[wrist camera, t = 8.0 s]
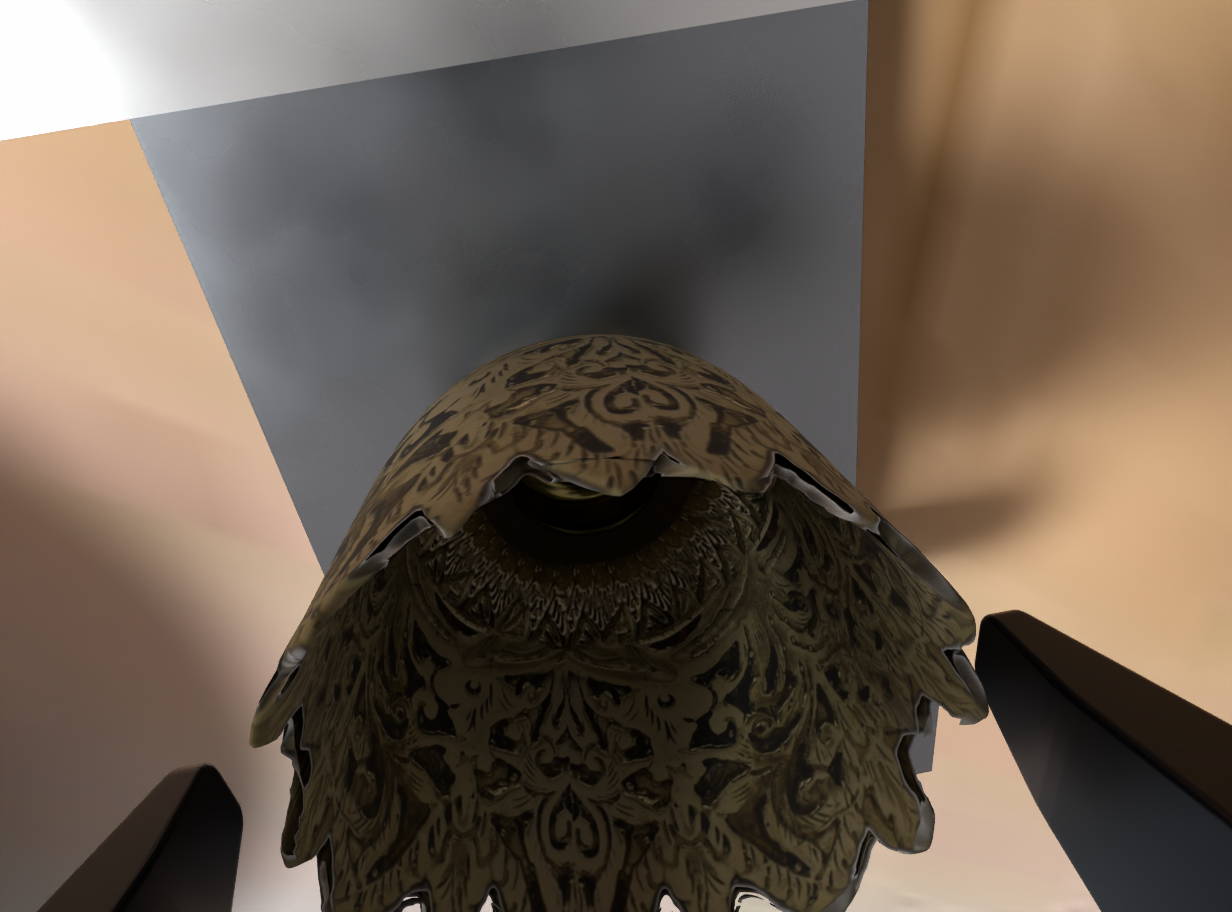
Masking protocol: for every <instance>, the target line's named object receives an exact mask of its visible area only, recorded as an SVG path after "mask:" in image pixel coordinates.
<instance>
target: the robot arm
mask: <svg viewBox="0 0 1232 912" xmlns="http://www.w3.org/2000/svg"><path fill="white" fill-rule="evenodd" d="M975 672H976V674H977V675H978V677H979V679H980V681H981V683H982V686H983V688H984V691H985V694H986V697H987V700H988V705H989V707H990V709H991V711H992V713H993V715H994V717H995V719H996V721H997V724H998V726H999V728H1000V730H1001V732H1002V734H1003V736H1004V738H1005V740H1006V742H1007V744H1008V747H1009V749H1010V751H1011V753H1012V755H1013V757H1014V759H1015V761H1016V763H1017V765H1018V768H1019V770H1020V772H1021V774H1022V776H1023V778H1024V780H1025V782H1026V784H1027V786H1028V788H1029V790H1030V792H1031V794H1032V796H1033V798H1034V800H1035V802H1036V804H1037V806H1038V808H1039V809H1040V811H1041V813H1042V815H1043V816H1044V818H1045V820H1046V822H1047V823H1048V825H1049V827H1050V828H1051V830H1052V832H1053V833H1054V835H1055V836H1056V838H1057V840H1058V841H1059V843H1060V845H1061V846H1062V848H1063V850H1064V851H1065V853H1066V854H1067V856H1068V858H1069V859H1070V861H1071V863H1072V864H1073V866H1074V868H1075V869H1076V871H1077V873H1078V874H1079V876H1080V877H1081V879H1082V881H1083V882H1084V884H1085V886H1086V887H1087V889H1088V891H1089V892H1090V894H1091V895H1092V897H1093V899H1094V900H1095V902H1096V904H1097V905H1098V907H1099V909H1100V910H1101V912H1232V725H1231V724H1229V723H1227V722H1225V721H1223V720H1222V719H1220V718H1218V717H1216V716H1214V715H1212V714H1211V713H1209V712H1207V711H1205V710H1203V709H1201V708H1200V707H1198V706H1196V705H1194V704H1192V703H1190V702H1189V701H1187V700H1185V699H1183V698H1181V697H1179V696H1178V695H1176V694H1174V693H1172V692H1170V691H1168V690H1167V689H1165V688H1163V687H1161V686H1159V685H1157V684H1156V683H1154V682H1152V681H1150V680H1148V679H1146V678H1145V677H1143V676H1141V675H1139V674H1137V673H1135V672H1134V671H1132V670H1130V669H1128V668H1126V667H1124V666H1123V665H1121V664H1119V663H1117V662H1115V661H1114V660H1112V659H1110V658H1108V657H1106V656H1104V655H1103V654H1101V653H1099V652H1097V651H1095V650H1093V649H1092V648H1090V647H1088V646H1086V645H1084V644H1082V643H1081V642H1079V641H1077V640H1075V639H1073V638H1071V637H1070V636H1068V635H1066V634H1064V633H1062V632H1060V631H1059V630H1057V629H1055V628H1053V627H1051V626H1049V625H1048V624H1046V623H1044V622H1042V621H1040V620H1038V619H1037V618H1035V617H1033V616H1031V615H1029V614H1027V613H1025V612H1023V611H1020V610H1010V611H1004V612H999V613H994V614H989V615H986V616H985V617H984V618H983V619H982V621H981V624H980V630H979V637H978V644H977V651H976V659H975ZM242 830H243V816H242V811H241V807H240V805H239V803H238V801H237V800H236V798H235V797H234V795H233V793H232V792H231V790H230V788H229V787H228V785H227V784H226V782H225V780H224V779H223V777H222V775H221V774H220V772H219V771H218V769H217V768H216V767H215V766H213V765H212V764H210V763H204V764H198V765H193V766H188V767H183V768H178V769H176V770H173V771H172V772H170V773H169V774H168V775H167V776H166V777H165V778H164V779H163V780H162V781H161V782H160V783H159V784H158V785H157V786H156V787H155V788H154V789H153V790H152V791H151V792H150V793H149V794H148V795H147V797H146V798H145V799H144V800H143V801H142V802H141V803H140V804H139V805H138V806H137V807H136V808H135V809H134V810H133V811H132V812H131V813H130V814H129V815H128V816H127V818H126V819H125V820H124V821H123V822H122V823H121V824H120V825H119V826H118V827H117V828H116V829H115V830H114V831H113V832H112V833H111V834H110V835H109V836H108V838H107V839H106V840H105V841H104V842H103V843H102V844H101V845H100V846H99V847H98V848H97V849H96V850H95V851H94V852H93V853H92V854H91V855H90V856H89V857H88V859H87V860H86V861H85V862H84V863H83V864H82V865H81V866H80V867H79V868H78V869H77V870H76V871H75V872H74V873H73V874H72V875H71V876H70V877H69V878H68V880H67V881H66V882H65V883H64V884H63V885H62V886H61V887H60V888H59V889H58V890H57V891H56V892H55V893H54V894H53V895H52V896H51V897H50V898H49V900H48V901H47V902H46V903H45V904H44V905H43V906H42V907H41V908H40V909H39V910H38V911H37V912H231V911H232V904H233V897H234V889H235V882H236V874H237V867H238V860H239V852H240V845H241V837H242Z"/></svg>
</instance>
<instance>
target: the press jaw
mask: <svg viewBox="0 0 1232 912" xmlns="http://www.w3.org/2000/svg"><path fill="white" fill-rule="evenodd" d="M847 1H853V0H0V140H4V139H10V138H16V137H22V136H28V135H34V134H41V133H47V132H53V131H59V130H65V129H71V128H77V127H83V126H89V125H96V124H102V123H108V122H114V121H120V120H126V119H132V118H138V117H144V116H151V115H157V114H163V113H169V112H175V111H181V110H187V109H193V108H199V107H206V106H212V105H218V104H224V103H230V102H236V101H242V100H248V99H254V98H260V97H267V96H273V95H279V94H285V93H291V92H297V91H303V90H309V89H315V88H322V87H328V86H334V85H340V84H346V83H352V82H358V81H364V80H370V79H377V78H383V77H389V76H395V75H401V74H407V73H413V72H419V71H425V70H432V69H438V68H444V67H450V66H456V65H462V64H468V63H474V62H480V61H487V60H493V59H499V58H505V57H511V56H517V55H523V54H529V53H535V52H542V51H548V50H554V49H560V48H566V47H572V46H578V45H584V44H590V43H597V42H603V41H609V40H615V39H621V38H627V37H633V36H639V35H645V34H652V33H658V32H664V31H670V30H676V29H682V28H688V27H694V26H700V25H707V24H713V23H719V22H725V21H731V20H737V19H743V18H749V17H755V16H762V15H768V14H774V13H780V12H786V11H792V10H798V9H804V8H810V7H817V6H823V5H829V4H835V3H841V2H847Z"/></svg>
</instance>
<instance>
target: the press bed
mask: <svg viewBox="0 0 1232 912" xmlns="http://www.w3.org/2000/svg"><path fill="white" fill-rule="evenodd" d="M867 35H868V0H853V1H847V2H841V3H835V4H829V5H823V6H817V7H810V8H804V9H798V10H792V11H786V12H780V13H774V14H768V15H762V16H755V17H749V18H743V19H737V20H731V21H725V22H719V23H713V24H707V25H700V26H694V27H688V28H682V29H676V30H670V31H664V32H658V33H652V34H645V35H639V36H633V37H627V38H621V39H615V40H609V41H603V42H597V43H590V44H584V45H578V46H572V47H566V48H560V49H554V50H548V51H542V52H535V53H529V54H523V55H517V56H511V57H505V58H499V59H493V60H487V61H480V62H474V63H468V64H462V65H456V66H450V67H444V68H438V69H432V70H425V71H419V72H413V73H407V74H401V75H395V76H389V77H383V78H377V79H370V80H364V81H358V82H352V83H346V84H340V85H334V86H328V87H322V88H315V89H309V90H303V91H297V92H291V93H285V94H279V95H273V96H267V97H260V98H254V99H248V100H242V101H236V102H230V103H224V104H218V105H212V106H206V107H199V108H193V109H187V110H181V111H175V112H169V113H163V114H157V115H151V116H144V117H138V118H132V119H130V122H131V124H132V126H133V129H134V131H135V133H136V136H137V138H138V140H139V143H140V145H141V147H142V150H143V152H144V154H145V157H146V159H147V161H148V164H149V166H150V168H151V171H152V173H153V175H154V178H155V180H156V182H157V185H158V187H159V190H160V192H161V194H162V197H163V199H164V201H165V204H166V206H167V208H168V211H169V213H170V215H171V218H172V220H173V222H174V225H175V227H176V229H177V232H178V234H179V236H180V239H181V241H182V243H183V246H184V248H185V250H186V253H187V255H188V257H189V260H190V262H191V264H192V267H193V269H194V271H195V274H196V276H197V278H198V281H199V283H200V285H201V288H202V290H203V293H204V295H205V297H206V300H207V302H208V304H209V307H210V309H211V311H212V314H213V316H214V318H215V321H216V323H217V325H218V328H219V330H220V332H221V335H222V337H223V339H224V342H225V344H226V346H227V349H228V351H229V353H230V356H231V358H232V360H233V363H234V365H235V367H236V370H237V372H238V374H239V377H240V379H241V381H242V384H243V386H244V388H245V391H246V393H247V395H248V398H249V400H250V403H251V405H252V407H253V410H254V412H255V414H256V417H257V419H258V421H259V424H260V426H261V428H262V431H263V433H264V435H265V438H266V440H267V442H268V445H269V447H270V449H271V452H272V454H273V456H274V459H275V461H276V463H277V466H278V468H279V470H280V473H281V475H282V477H283V480H284V482H285V484H286V487H287V489H288V491H289V494H290V496H291V498H292V501H293V503H294V506H295V508H296V510H297V513H298V515H299V517H300V520H301V522H302V524H303V527H304V529H305V531H306V534H307V536H308V538H309V541H310V543H311V545H312V548H313V550H314V552H315V555H316V557H317V559H318V562H319V564H320V566H321V569H322V571H323V573H324V576H325V575H326V573H327V571H328V569H329V567H330V565H331V563H332V561H333V559H334V557H335V555H336V553H337V551H338V549H339V547H340V545H341V543H342V542H343V540H344V538H345V536H346V534H347V532H348V530H349V528H350V526H351V524H352V522H353V520H354V519H355V517H356V515H357V513H358V511H359V509H360V507H361V505H362V503H363V502H364V500H365V498H366V496H367V494H368V492H369V491H370V489H371V487H372V485H373V483H374V482H375V480H376V478H377V477H378V475H379V473H380V472H381V470H382V468H383V467H384V465H385V463H386V462H387V460H388V459H389V457H390V456H391V454H392V453H393V451H394V450H395V449H396V447H397V446H398V444H399V443H400V441H401V440H402V439H403V437H404V436H405V434H406V433H407V432H408V430H409V429H410V428H411V426H412V425H413V424H414V423H415V422H416V421H417V420H418V418H419V417H420V416H421V415H422V414H423V413H424V412H425V411H426V409H427V408H428V407H429V406H430V405H432V404H433V403H434V402H435V401H436V400H437V399H438V398H439V397H440V396H441V395H442V394H444V393H445V392H446V391H447V390H448V389H449V388H450V387H451V386H453V385H454V384H455V383H456V382H458V381H459V380H460V379H462V378H463V377H465V376H466V375H468V374H469V373H470V372H472V371H473V370H475V369H476V368H478V367H480V366H482V365H484V364H486V363H487V362H489V361H491V360H493V359H495V358H497V357H499V356H501V355H504V354H506V353H509V352H511V351H513V350H516V349H518V348H521V347H524V346H528V345H531V344H535V343H538V342H541V341H545V340H551V339H556V338H562V337H567V336H578V335H591V334H603V335H623V336H630V337H637V338H644V339H648V340H652V341H656V342H660V343H664V344H668V345H670V346H673V347H676V348H678V349H681V350H684V351H686V352H689V353H691V354H693V355H695V356H697V357H699V358H701V359H703V360H705V361H707V362H709V363H711V364H713V365H715V366H717V367H719V368H721V369H723V370H724V371H726V372H727V373H729V374H730V375H731V376H733V377H734V378H736V379H737V380H739V381H740V382H742V383H743V384H744V385H746V386H747V387H748V388H750V389H751V390H753V391H754V392H755V393H757V394H758V395H759V396H760V397H761V398H763V399H764V400H765V401H766V402H767V403H768V404H769V405H770V406H772V407H773V408H774V409H775V410H776V411H777V412H778V413H779V414H780V415H782V416H783V417H784V418H785V419H786V420H787V421H788V422H789V423H791V424H792V425H793V426H794V427H795V428H796V429H797V430H798V431H799V432H800V433H801V434H802V435H803V436H804V437H805V438H806V439H807V440H808V441H809V442H810V443H811V444H812V445H813V446H814V447H815V448H816V449H817V450H818V451H819V452H820V453H821V454H823V455H824V456H825V457H826V458H827V459H828V460H829V461H830V462H831V463H832V464H833V465H834V466H835V467H836V468H837V469H838V470H839V471H840V472H841V473H842V474H843V475H844V477H845V478H846V479H847V480H848V481H849V482H850V483H851V484H852V485H853V486H854V487H855V488H856V464H857V425H858V386H859V347H860V308H861V269H862V230H863V191H864V152H865V113H866V74H867ZM938 709H939V705H938V704H936V703H935V702H933V703H932V704H931V717H932V722H933V727H934V733H933V734H932V735H930V736H928V737H925V738H924V734H918V735H916V737H915V740H914V742H913V744H912V747H911V749H910V757H912V763H913V765H914V768H915V772H916V774H919V773H924V772H929V771H932V763H933V754H934V745H935V736H936V727H937V718H938Z"/></svg>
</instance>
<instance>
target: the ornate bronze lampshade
mask: <svg viewBox="0 0 1232 912" xmlns="http://www.w3.org/2000/svg"><path fill="white" fill-rule="evenodd" d="M975 636H976V623H975V619H974V616H973V614H972V612H971V610H970V609H969V607H968V605H967V604H966V602H965V601H964V600H963V599H962V597H961V596H960V595H959V594H958V592H957V591H956V590H955V589H954V588H953V587H952V585H951V584H950V583H949V582H948V581H947V580H946V579H945V578H944V577H943V576H942V574H941V573H940V572H939V571H938V570H937V569H936V568H935V567H934V566H933V565H932V564H931V563H930V562H929V560H928V559H927V558H926V557H925V556H924V555H923V554H922V553H921V552H920V551H919V550H918V549H917V548H916V547H915V546H914V545H913V544H912V543H911V542H910V541H909V540H907V539H906V538H905V537H904V536H903V535H902V534H901V533H900V532H899V531H897V530H896V529H895V528H894V527H893V526H892V525H891V524H890V523H889V522H888V521H887V519H886V518H885V517H884V516H883V515H882V514H881V513H880V512H879V511H878V510H877V509H876V508H875V507H874V506H873V505H872V504H871V503H870V502H869V501H868V500H867V499H866V498H865V497H864V496H863V495H862V494H861V493H860V492H859V491H858V490H857V489H856V488H855V487H854V486H853V485H852V484H851V483H850V482H849V481H848V480H847V479H846V478H845V477H844V475H843V474H842V473H841V472H840V471H839V470H838V469H837V468H836V467H835V466H834V465H833V464H832V463H831V462H830V461H829V460H828V459H827V458H826V457H825V456H824V455H823V454H821V453H820V452H819V451H818V450H817V449H816V448H815V447H814V446H813V445H812V444H811V443H810V442H809V441H808V440H807V439H806V438H805V437H804V436H803V435H802V434H801V433H800V432H799V431H798V430H797V429H796V428H795V427H794V426H793V425H792V424H791V423H789V422H788V421H787V420H786V419H785V418H784V417H783V416H782V415H780V414H779V413H778V412H777V411H776V410H775V409H774V408H773V407H772V406H770V405H769V404H768V403H767V402H766V401H765V400H764V399H763V398H761V397H760V396H759V395H758V394H757V393H755V392H754V391H753V390H751V389H750V388H748V387H747V386H746V385H744V384H743V383H742V382H740V381H739V380H737V379H736V378H734V377H733V376H731V375H730V374H729V373H727V372H726V371H724V370H723V369H721V368H719V367H717V366H715V365H713V364H711V363H709V362H707V361H705V360H703V359H701V358H699V357H697V356H695V355H693V354H691V353H689V352H686V351H684V350H681V349H678V348H676V347H673V346H670V345H668V344H664V343H660V342H656V341H652V340H648V339H644V338H637V337H630V336H623V335H603V334H591V335H578V336H567V337H562V338H556V339H551V340H545V341H541V342H538V343H535V344H531V345H528V346H524V347H521V348H518V349H516V350H513V351H511V352H509V353H506V354H504V355H501V356H499V357H497V358H495V359H493V360H491V361H489V362H487V363H486V364H484V365H482V366H480V367H478V368H476V369H475V370H473V371H472V372H470V373H469V374H468V375H466V376H465V377H463V378H462V379H460V380H459V381H458V382H456V383H455V384H454V385H453V386H451V387H450V388H449V389H448V390H447V391H446V392H445V393H444V394H442V395H441V396H440V397H439V398H438V399H437V400H436V401H435V402H434V403H433V404H432V405H430V406H429V407H428V408H427V409H426V411H425V412H424V413H423V414H422V415H421V416H420V417H419V418H418V420H417V421H416V422H415V423H414V424H413V425H412V426H411V428H410V429H409V430H408V432H407V433H406V434H405V436H404V437H403V439H402V440H401V441H400V443H399V444H398V446H397V447H396V449H395V450H394V451H393V453H392V454H391V456H390V457H389V459H388V460H387V462H386V463H385V465H384V467H383V468H382V470H381V472H380V473H379V475H378V477H377V478H376V480H375V482H374V483H373V485H372V487H371V489H370V491H369V492H368V494H367V496H366V498H365V500H364V502H363V503H362V505H361V507H360V509H359V511H358V513H357V515H356V517H355V519H354V520H353V522H352V524H351V526H350V528H349V530H348V532H347V534H346V536H345V538H344V540H343V542H342V543H341V545H340V547H339V549H338V551H337V553H336V555H335V557H334V559H333V561H332V563H331V565H330V567H329V569H328V571H327V573H326V575H325V577H324V579H323V581H322V583H321V585H320V586H319V588H318V590H317V592H316V594H315V596H314V598H313V600H312V602H311V604H310V606H309V608H308V610H307V612H306V614H305V616H304V618H303V619H302V621H301V623H300V625H299V626H298V628H297V630H296V631H295V633H294V635H293V637H292V638H291V640H290V642H289V644H288V645H287V647H286V649H285V651H284V653H283V655H282V657H281V659H280V661H279V664H278V667H277V670H276V672H275V674H274V675H273V677H272V679H271V681H270V682H269V684H268V686H267V688H266V690H265V692H264V693H263V695H262V697H261V699H260V701H259V703H258V706H257V709H256V712H255V715H254V719H253V722H252V726H251V732H250V741H249V744H250V746H251V747H253V748H257V747H261V746H264V745H267V744H269V743H271V742H273V741H275V740H276V739H278V737H279V736H280V735H281V733H282V731H283V729H284V734H283V741H282V744H281V753H282V754H284V755H285V756H287V757H289V758H290V759H291V760H292V765H293V768H294V777H293V782H292V786H291V788H290V795H291V798H290V803H289V807H288V811H287V816H286V822H285V827H284V830H283V833H282V838H281V855H282V858H283V861H284V864H285V866H286V867H287V868H293V867H296V866H298V865H300V864H302V863H304V862H306V861H308V860H311V859H313V857H315V856H316V855H317V868H318V880H319V885H320V893H321V911H322V912H402V911H403V909H404V908H405V907H407V906H411V905H414V904H417V903H418V904H420V908H421V912H480V910H481V908H482V906H483V904H484V903H485V902H486V900H487V897H488V895H489V896H490V897H491V899H492V901H493V903H491V905H492V908H493V912H660V911H661V908H660V902H661V900H662V898H663V896H664V895H668V896H670V898H671V899H672V902H673V904H674V905H675V906H676V907H677V908H678V909H679V910H680V912H739V909H740V906H737V907H736V909H735V911H734V906H735V899H736V898H737V896H738V894H739V892H753V893H757V894H761V895H762V896H764V897H766V898H767V899H769V901H771V902H772V903H773V904H774V905H773V904H771V903H770V904H771V905H772V906H774V907H776V908H777V909H779V910H780V911H782V912H845V911H846V909H847V908H848V906H849V905H850V903H851V901H852V900H853V898H854V897H855V895H856V893H857V891H858V889H859V886H860V883H861V880H862V878H863V875H864V872H865V870H866V868H867V866H868V862H869V858H870V854H871V850H872V848H873V846H874V844H875V843H876V841H877V839H878V841H879V843H881V844H883V845H884V846H885V847H887V848H889V849H891V850H894V851H897V852H898V851H900V852H902V853H903V854H917V853H921V852H924V851H927V850H928V849H929V848H930V846H931V843H932V839H933V832H934V825H935V814H934V810H933V808H932V806H931V803H930V801H929V799H928V797H927V796H926V795H925V793H924V791H923V788H922V785H921V782H920V781H919V780H918V778H917V776H916V772H915V768H914V765H913V763H912V757H910V749H911V747H912V744H913V742H914V740H915V737H916V735H918V734H924V738H925V737H928V736H930V735H932V734H933V733H934V727H933V722H932V717H931V704H932V703H933V702H935V703H936V704H938V705H939V706H942V707H943V708H944V709H945V710H946V711H947V712H948V713H949V714H950V715H951V716H952V717H955V718H959V719H961V721H960V724H959V725H970V724H976V723H978V722H979V721H981V720H983V719H985V718H986V717H987V716H988V713H989V707H988V700H987V697H986V694H985V691H984V688H983V686H982V683H981V681H980V679H979V677H978V675H977V674H976V672H975V670H974V668H973V667H972V665H971V663H970V661H969V659H968V658H967V656H966V654H965V653H964V651H963V650H962V649H961V647H963V646H965V645H969V644H971V643H973V642H974V640H975ZM416 896H417V897H418V898H411V899H408V900H405V901H403V899H404V898H405V897H416ZM749 897H756V898H760V897H757V896H754V895H748V894H745V895H742V896H741V897H740V898H739V900H738V902H739V903H741V901H742V900H743V899H746V898H749ZM760 899H762V898H760ZM762 900H763V899H762ZM659 908H660V909H659ZM672 912H673V911H672Z"/></svg>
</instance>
